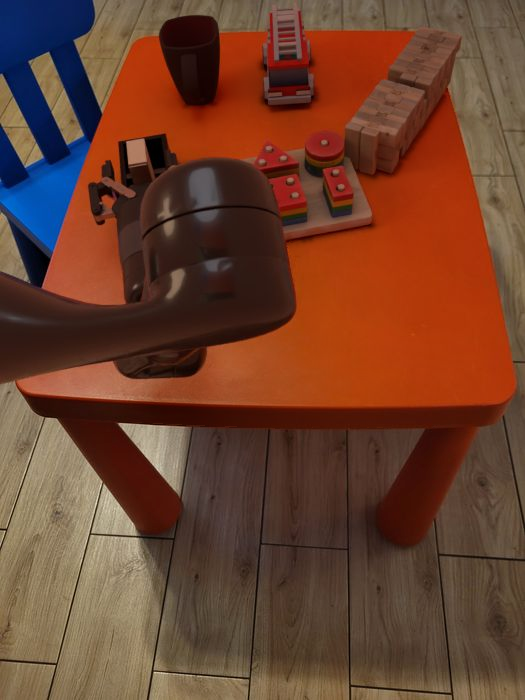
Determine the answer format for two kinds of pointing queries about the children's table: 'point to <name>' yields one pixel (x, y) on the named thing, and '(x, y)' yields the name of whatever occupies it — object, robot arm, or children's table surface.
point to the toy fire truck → (287, 59)
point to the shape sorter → (314, 186)
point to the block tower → (401, 101)
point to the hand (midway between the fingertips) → (139, 159)
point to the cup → (192, 56)
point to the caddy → (156, 154)
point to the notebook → (139, 162)
